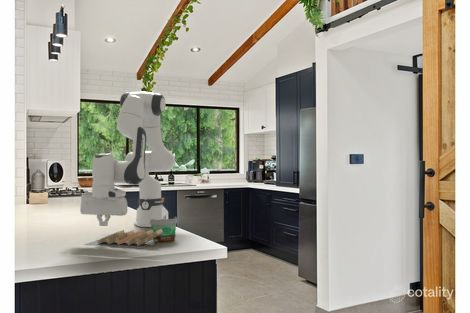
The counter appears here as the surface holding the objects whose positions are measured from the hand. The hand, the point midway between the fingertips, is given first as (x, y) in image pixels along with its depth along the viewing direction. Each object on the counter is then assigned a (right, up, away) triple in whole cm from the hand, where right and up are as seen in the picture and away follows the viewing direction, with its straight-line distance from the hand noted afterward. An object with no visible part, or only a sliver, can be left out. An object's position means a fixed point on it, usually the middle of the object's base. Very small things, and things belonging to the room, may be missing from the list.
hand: (103, 225), depth 171 cm
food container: (+26, -8, +3) cm, 27 cm away
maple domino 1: (-1, -6, 0) cm, 6 cm away
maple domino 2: (+3, -6, -1) cm, 7 cm away
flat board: (+7, -8, -2) cm, 10 cm away
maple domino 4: (+16, -6, -4) cm, 18 cm away
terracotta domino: (+7, -6, -2) cm, 10 cm away
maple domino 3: (+12, -6, -3) cm, 14 cm away
